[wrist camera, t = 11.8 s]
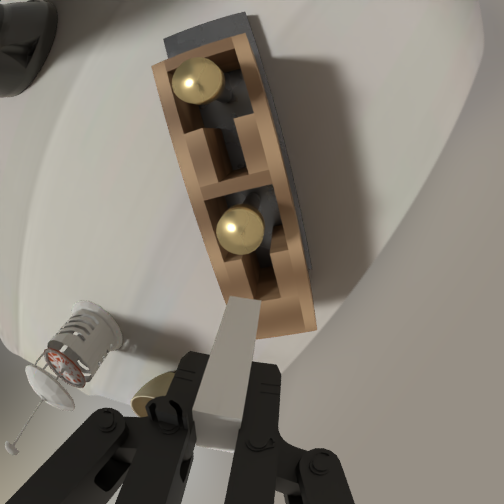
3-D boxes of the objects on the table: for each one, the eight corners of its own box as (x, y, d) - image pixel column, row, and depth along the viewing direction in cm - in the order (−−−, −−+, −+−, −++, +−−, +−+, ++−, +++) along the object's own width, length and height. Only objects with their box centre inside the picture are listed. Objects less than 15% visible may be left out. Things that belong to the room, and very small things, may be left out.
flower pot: (183, 355, 36) (167, 394, 30) (218, 396, 40) (209, 433, 33) (135, 365, 39) (117, 398, 32) (170, 402, 42) (158, 434, 36)
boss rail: (167, 41, 20) (118, 11, 12) (246, 15, 19) (228, -33, 10) (236, 278, 30) (219, 336, 21) (311, 264, 28) (321, 322, 20)
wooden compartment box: (179, 78, 21) (151, 66, 16) (254, 54, 20) (245, 32, 14) (247, 304, 30) (240, 341, 25) (312, 293, 29) (317, 330, 23)
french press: (133, 351, 37) (60, 489, 15) (84, 350, 40) (14, 458, 17) (102, 296, 34) (-6, 437, 11) (56, 303, 36) (-36, 409, 13)
